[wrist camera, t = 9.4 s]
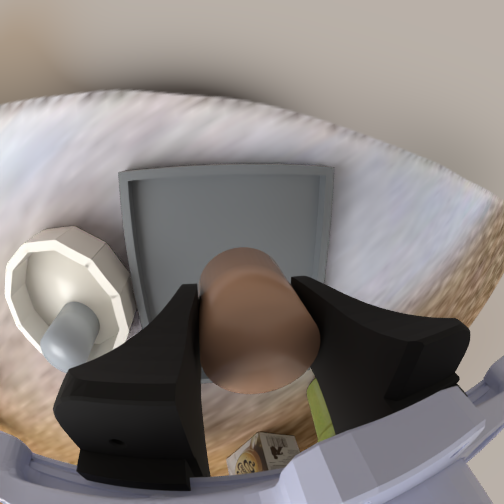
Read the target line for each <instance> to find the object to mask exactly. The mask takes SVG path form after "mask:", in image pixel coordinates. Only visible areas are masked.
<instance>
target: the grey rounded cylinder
mask: <svg viewBox="0 0 504 504" xmlns="http://www.w3.org/2000/svg"><path fill="white" fill-rule="evenodd" d="M99 330H100V324H99V320H98V318H97V316H96V314H95V313H94V312H93V311H92V310H91V309H90V308H89V307H88V306H86V305H84V304H82V303H79V302H69V303H67V304H65V305H64V306H63V308H62V309H61V310H60V312H59V313H58V315H57V316H56V318H55V319H54V320H53V322H52V323H51V325H50V326H49V328H48V329H47V331H46V332H45V334H44V335H43V337H42V339H41V342H40V347H41V350H42V353H43V355H44V356H45V358H46V359H47V361H48V362H49V363H50V364H51V365H53V366H54V367H55V368H57V369H58V370H60V371H62V372H65V373H67V372H68V370H69V369H70V368H73V367H75V366H78V365H81V364H83V363H86V361H87V359H88V356H89V354H90V352H91V349H92V347H93V344H94V342H95V340H96V338H97V335H98V333H99Z"/></svg>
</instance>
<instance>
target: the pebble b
mask: <svg viewBox="0 0 504 504" xmlns="http://www.w3.org/2000/svg"><path fill="white" fill-rule="evenodd" d="M199 343H200V362H201V366H202V368H203V371H204V373H205V374H206V375H207V377H208V378H209V379H210V380H211V381H212V382H213V383H215V384H216V385H218V386H219V387H221V388H223V389H226V390H228V391H232V392H236V393H242V394H258V393H265V392H269V391H273V390H276V389H279V388H282V387H284V386H286V385H288V384H290V383H291V382H293V381H295V380H296V379H298V378H299V377H300V376H301V375H302V374H304V373H305V372H306V371H307V370H308V369H309V367H310V366H311V365H312V363H313V362H314V360H315V358H316V356H317V354H318V351H319V348H320V333H319V329H318V327H317V325H316V323H315V321H314V320H313V318H312V317H311V315H310V314H309V312H308V311H307V309H306V307H305V306H304V304H303V303H302V301H301V300H300V298H299V297H298V295H297V294H296V292H295V290H294V289H293V287H292V286H291V284H290V283H289V281H288V280H287V278H286V277H285V275H284V274H283V272H282V270H281V269H280V267H279V266H278V264H277V263H276V262H275V260H274V259H273V258H272V257H270V256H269V255H268V254H266V253H265V252H263V251H260V250H258V249H254V248H248V247H239V248H233V249H229V250H226V251H224V252H222V253H220V254H218V255H217V256H215V257H214V258H213V259H212V260H211V261H209V263H208V264H207V265H206V266H205V268H204V269H203V271H202V274H201V276H200V279H199Z"/></svg>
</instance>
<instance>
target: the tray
mask: <svg viewBox="0 0 504 504" xmlns="http://www.w3.org/2000/svg"><path fill="white" fill-rule="evenodd" d="M118 177H119V191H120V202H121V212H122V221H123V229H124V237H125V244H126V251H127V257H128V263H129V269H130V274H131V280H132V285H133V290H134V295H135V299H136V304H137V308H138V313H139V317H140V321H141V325H142V329H144V328H145V327H146V326H147V325H148V324H149V323H150V322H151V321H152V320H153V319H154V318H155V317H156V316H157V315H158V314H159V313H160V312H161V311H162V310H163V308H164V307H165V306H166V305H167V303H168V302H169V301H170V300H171V298H172V297H173V296H174V294H175V293H176V291H177V290H178V289H179V287H180V286H181V285H182V284H196V283H197V287H198V297H199V279H200V276H201V274H202V271H203V269H204V268H205V266H206V265H207V264H208V263H209V261H211V260H212V259H213V258H214V257H215V256H217V255H218V254H220V253H222V252H224V251H226V250H229V249H233V248H239V247H248V248H254V249H258V250H260V251H263V252H265V253H266V254H268V255H269V256H270V257H272V258H273V259H274V260H275V262H276V263H277V264H278V266H279V267H280V269H281V270H282V272H283V274H284V275H285V277H286V278H287V280H288V281H289V283H290V284H291V277H294V276H308V277H310V278H313V279H315V280H317V281H319V282H321V283H323V284H324V279H325V271H326V263H327V254H328V245H329V235H330V224H331V212H332V198H333V182H334V167H330V166H322V165H303V164H264V163H243V164H204V165H185V166H170V167H157V168H146V169H136V170H127V171H122V172H119V173H118ZM308 370H310V367H309V369H308ZM201 383H213V382H212V381H211V380H210V379H209V378H208V377H207V375H206V374H205V373H204V371H203V368H202V371H201Z"/></svg>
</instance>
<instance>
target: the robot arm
mask: <svg viewBox="0 0 504 504" xmlns="http://www.w3.org/2000/svg"><path fill="white" fill-rule="evenodd" d="M291 286H292V287H293V289H294V290H295V292H296V294H297V295H298V297H299V298H300V300H301V301H302V303H303V304H304V306H305V307H306V309H307V311H308V312H309V314H310V315H311V317H312V318H313V320H314V321H315V323H316V325H317V327H318V329H319V333H320V348H319V351H318V354H317V356H316V358H315V360H314V362H313V363H312V365H311V366H310V367H311V369H312V371H313V373H314V375H315V377H316V379H317V381H318V384H319V387H320V389H321V392H322V395H323V397H324V400H325V403H326V406H327V409H328V412H329V415H330V418H331V421H332V425H333V428H334V431H335V436H333V437H330V438H328V439H325V440H323V441H320V442H318V443H316V444H314V445H313V446H311V447H309V448H308V449H306V450H304V451H302V452H301V453H299V454H297V455H295V457H294V458H293V459H292V460H291V461H290V462H289V463H288V464H287V465H286V467H284V468H279V469H274V470H268V471H262V472H255V473H248V474H240V475H230V476H217V477H210V471H209V464H208V458H207V450H206V443H205V434H204V425H203V416H202V405H201V371H202V366H201V362H200V343H199V297H198V287H197V283H196V284H182V285H181V286H180V287H179V289H178V290H177V291H176V293H175V294H174V296H173V297H172V298H171V300H170V301H169V302H168V303H167V305H166V306H165V307H164V308H163V310H162V311H161V312H160V313H159V314H158V315H157V316H156V317H155V318H154V319H153V320H152V321H151V322H150V323H149V324H148V325H147V326H146V327H145V328H144V329H142V330H141V331H140V332H139V333H137V334H136V335H135V336H133V337H132V338H130V339H129V340H127V341H126V342H124V343H123V344H122V345H120V346H118V347H117V348H115V349H113V350H111V351H110V352H108V353H106V354H104V355H102V356H100V357H98V358H96V359H93V360H91V361H88V362H86V363H83V364H81V365H78V366H75V367H73V368H70V369H69V370H68V372H67V374H66V376H65V378H64V380H63V382H62V385H61V387H60V390H59V393H58V395H57V398H56V400H55V403H54V407H53V411H54V415H55V417H56V419H57V421H58V422H59V424H60V426H61V427H62V428H63V429H64V431H65V432H66V433H67V434H68V435H69V437H70V438H71V439H72V440H73V441H74V442H75V444H76V445H77V446H78V447H79V448H80V454H79V459H78V464H77V465H73V464H69V463H65V462H61V461H57V460H54V459H51V458H47V457H44V456H41V455H38V454H35V453H32V451H31V450H30V449H29V448H28V447H27V446H26V445H25V444H24V443H23V442H22V441H21V440H19V439H18V438H16V437H14V436H12V435H10V434H7V433H5V432H3V431H0V502H1V503H3V504H493V503H492V501H491V499H490V498H489V496H488V495H487V493H486V492H485V490H484V489H483V487H482V486H481V484H480V483H479V481H478V480H477V478H476V477H475V475H474V474H473V473H472V471H471V469H470V468H469V467H468V465H467V464H466V463H467V462H468V461H469V460H470V459H472V458H473V457H474V456H475V455H476V454H477V453H478V452H480V450H482V449H483V448H484V447H485V446H486V445H487V444H488V443H489V442H490V441H491V440H492V439H493V438H494V437H495V436H496V435H497V434H498V433H499V432H500V431H501V430H502V429H503V428H504V356H502V357H501V358H500V359H499V360H497V361H496V362H495V363H494V364H493V365H492V366H491V367H490V368H489V370H488V371H487V373H486V375H485V377H484V380H482V381H481V382H480V383H478V384H477V385H475V386H474V387H473V388H471V389H470V390H468V391H467V392H464V391H463V390H462V389H461V388H460V387H459V385H458V384H457V382H458V381H459V376H458V375H457V374H456V373H455V371H456V369H457V368H458V366H459V364H460V362H461V360H462V358H463V356H464V354H465V352H466V350H467V348H468V345H469V342H470V330H469V328H468V327H467V326H465V325H464V324H463V323H462V322H461V321H459V320H458V319H456V318H431V317H422V316H414V315H408V314H403V313H399V312H394V311H390V310H386V309H383V308H379V307H376V306H373V305H370V304H367V303H365V302H362V301H359V300H357V299H355V298H352V297H350V296H348V295H346V294H343V293H341V292H339V291H337V290H335V289H333V288H331V287H329V286H327V285H325V284H323V283H321V282H319V281H317V280H315V279H313V278H310V277H308V276H294V277H291Z"/></svg>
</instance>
